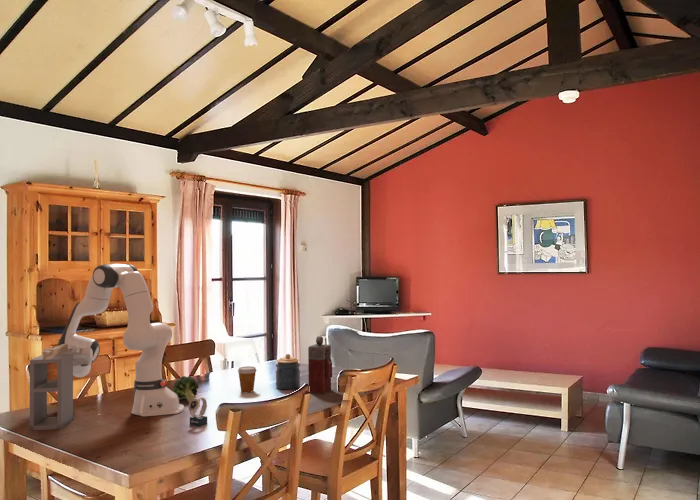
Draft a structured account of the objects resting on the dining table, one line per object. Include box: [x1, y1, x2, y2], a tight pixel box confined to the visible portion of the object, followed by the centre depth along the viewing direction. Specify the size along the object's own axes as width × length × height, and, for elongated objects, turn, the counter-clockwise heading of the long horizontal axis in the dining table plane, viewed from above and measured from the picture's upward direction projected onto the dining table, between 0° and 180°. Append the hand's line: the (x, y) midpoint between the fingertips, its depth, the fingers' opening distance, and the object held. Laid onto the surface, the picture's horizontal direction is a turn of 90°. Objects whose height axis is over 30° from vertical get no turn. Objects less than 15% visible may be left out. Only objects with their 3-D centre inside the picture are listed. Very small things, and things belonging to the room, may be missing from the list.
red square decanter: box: [307, 335, 333, 395], centre depth 297 cm, size 9×11×28 cm
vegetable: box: [171, 375, 200, 404], centre depth 280 cm, size 12×13×15 cm
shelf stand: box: [29, 354, 74, 431], centre depth 242 cm, size 12×18×28 cm, turn 7°
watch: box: [188, 396, 208, 428], centre depth 238 cm, size 6×8×11 cm
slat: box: [42, 344, 68, 360], centre depth 244 cm, size 2×22×3 cm, turn 7°
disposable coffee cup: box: [237, 365, 257, 393], centre depth 298 cm, size 10×10×12 cm
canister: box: [275, 353, 301, 390], centre depth 307 cm, size 13×13×18 cm
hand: (62, 347), depth 252 cm, fingers open, 7 cm apart
